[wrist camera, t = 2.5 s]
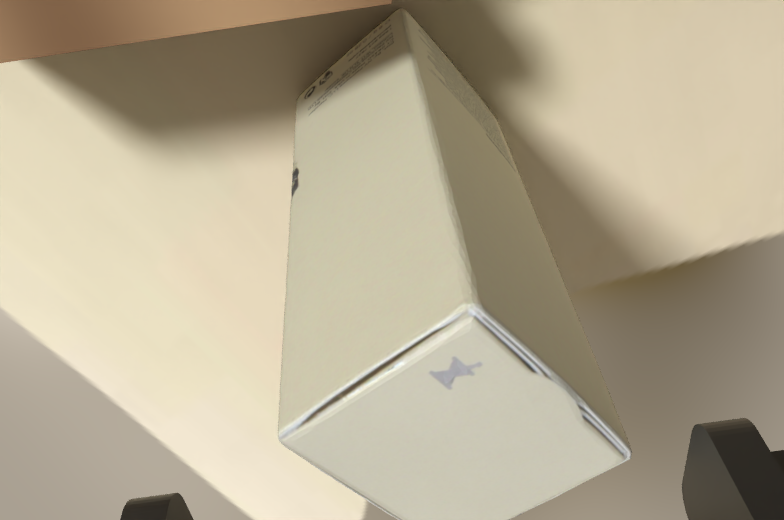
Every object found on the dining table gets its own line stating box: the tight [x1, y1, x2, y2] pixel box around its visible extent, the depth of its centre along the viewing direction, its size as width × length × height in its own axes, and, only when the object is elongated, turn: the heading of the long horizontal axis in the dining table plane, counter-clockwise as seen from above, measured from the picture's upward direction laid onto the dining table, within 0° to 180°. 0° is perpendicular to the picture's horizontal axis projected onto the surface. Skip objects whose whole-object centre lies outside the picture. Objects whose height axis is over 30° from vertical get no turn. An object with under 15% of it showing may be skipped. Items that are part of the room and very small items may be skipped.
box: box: [278, 8, 632, 520], centre depth 17 cm, size 5×4×13 cm
